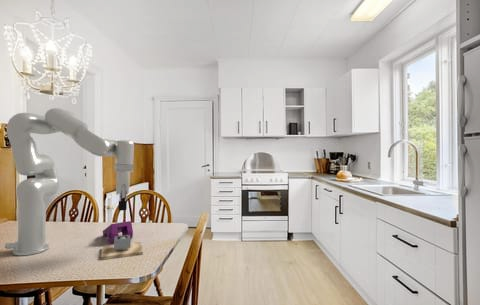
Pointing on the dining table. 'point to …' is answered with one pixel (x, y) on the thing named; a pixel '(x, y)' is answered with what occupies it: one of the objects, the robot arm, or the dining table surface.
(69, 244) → the dining table surface
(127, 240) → the collar
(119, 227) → the mounting bracket
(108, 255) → the hub board
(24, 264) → the dining table surface
